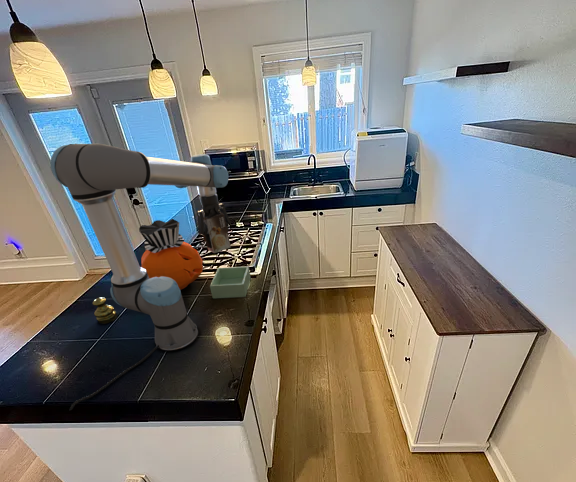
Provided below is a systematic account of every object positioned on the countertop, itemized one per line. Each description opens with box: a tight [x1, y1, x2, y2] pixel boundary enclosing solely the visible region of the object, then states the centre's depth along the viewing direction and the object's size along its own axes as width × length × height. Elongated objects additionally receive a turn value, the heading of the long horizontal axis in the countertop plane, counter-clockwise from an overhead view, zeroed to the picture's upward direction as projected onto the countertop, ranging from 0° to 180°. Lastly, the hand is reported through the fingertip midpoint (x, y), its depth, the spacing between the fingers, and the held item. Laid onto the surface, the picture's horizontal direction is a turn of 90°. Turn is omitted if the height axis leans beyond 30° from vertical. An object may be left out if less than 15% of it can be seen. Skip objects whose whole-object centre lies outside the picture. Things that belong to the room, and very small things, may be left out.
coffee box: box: [203, 212, 232, 254], centre depth 143 cm, size 9×6×16 cm
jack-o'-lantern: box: [138, 218, 204, 291], centre depth 142 cm, size 27×26×30 cm
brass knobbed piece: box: [92, 297, 118, 325], centre depth 127 cm, size 7×7×10 cm
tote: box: [209, 265, 252, 299], centre depth 142 cm, size 17×15×6 cm
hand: (218, 243), depth 146 cm, fingers closed on coffee box, 9 cm apart
